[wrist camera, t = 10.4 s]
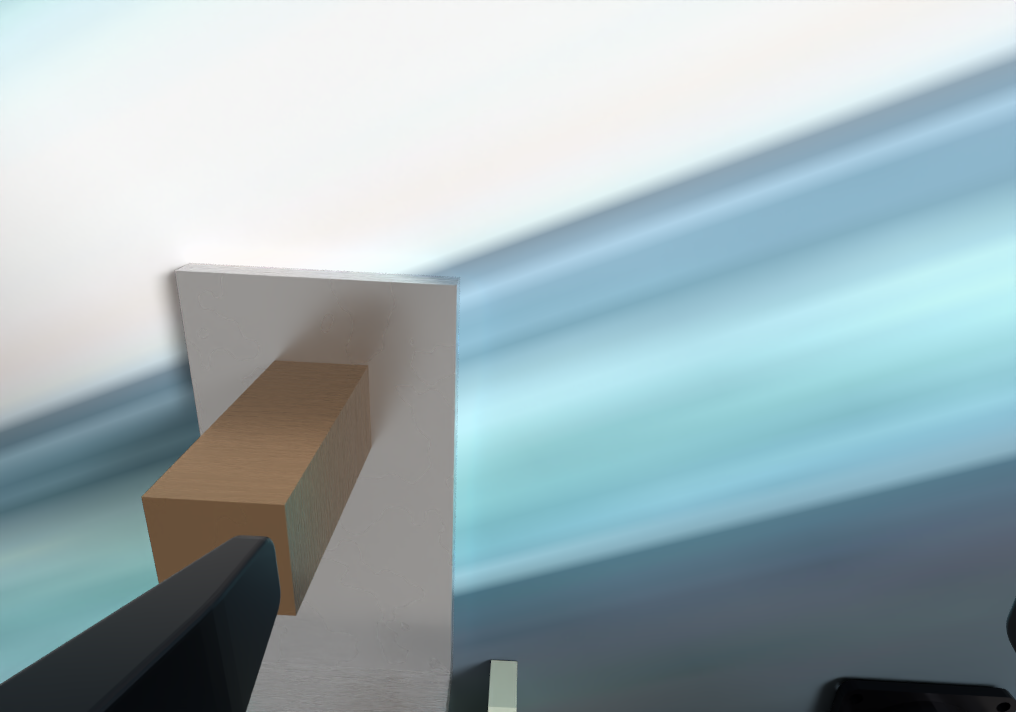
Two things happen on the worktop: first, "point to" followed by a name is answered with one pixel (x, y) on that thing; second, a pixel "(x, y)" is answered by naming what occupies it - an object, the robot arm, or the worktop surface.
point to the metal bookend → (326, 473)
